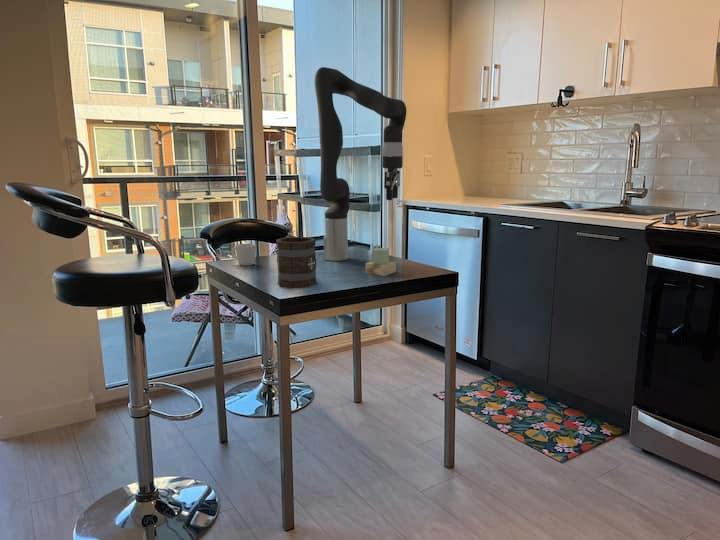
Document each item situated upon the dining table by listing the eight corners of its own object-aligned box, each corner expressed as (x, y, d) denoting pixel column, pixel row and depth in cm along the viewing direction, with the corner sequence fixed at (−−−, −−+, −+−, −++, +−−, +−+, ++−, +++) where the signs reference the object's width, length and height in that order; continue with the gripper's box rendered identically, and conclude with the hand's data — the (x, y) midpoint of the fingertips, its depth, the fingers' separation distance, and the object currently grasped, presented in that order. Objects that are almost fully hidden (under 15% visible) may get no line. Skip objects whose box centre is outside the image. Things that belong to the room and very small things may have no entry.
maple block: (365, 274, 190) (365, 263, 189) (377, 270, 196) (377, 259, 196) (383, 276, 186) (383, 265, 185) (395, 272, 192) (395, 262, 191)
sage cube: (372, 263, 188) (372, 250, 187) (375, 261, 193) (375, 247, 192) (386, 264, 187) (386, 250, 186) (388, 261, 192) (388, 248, 191)
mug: (312, 289, 168) (311, 243, 165) (272, 288, 170) (270, 242, 167) (324, 275, 187) (323, 234, 184) (287, 274, 189) (285, 234, 186)
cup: (226, 265, 206) (225, 245, 205) (238, 261, 214) (237, 242, 212) (249, 267, 202) (248, 247, 201) (260, 263, 210) (259, 243, 208)
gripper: (387, 155, 200) (387, 197, 204) (377, 155, 187) (377, 200, 191) (406, 155, 198) (405, 197, 202) (398, 155, 185) (397, 201, 188)
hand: (392, 199), depth 196 cm, fingers open, 8 cm apart
